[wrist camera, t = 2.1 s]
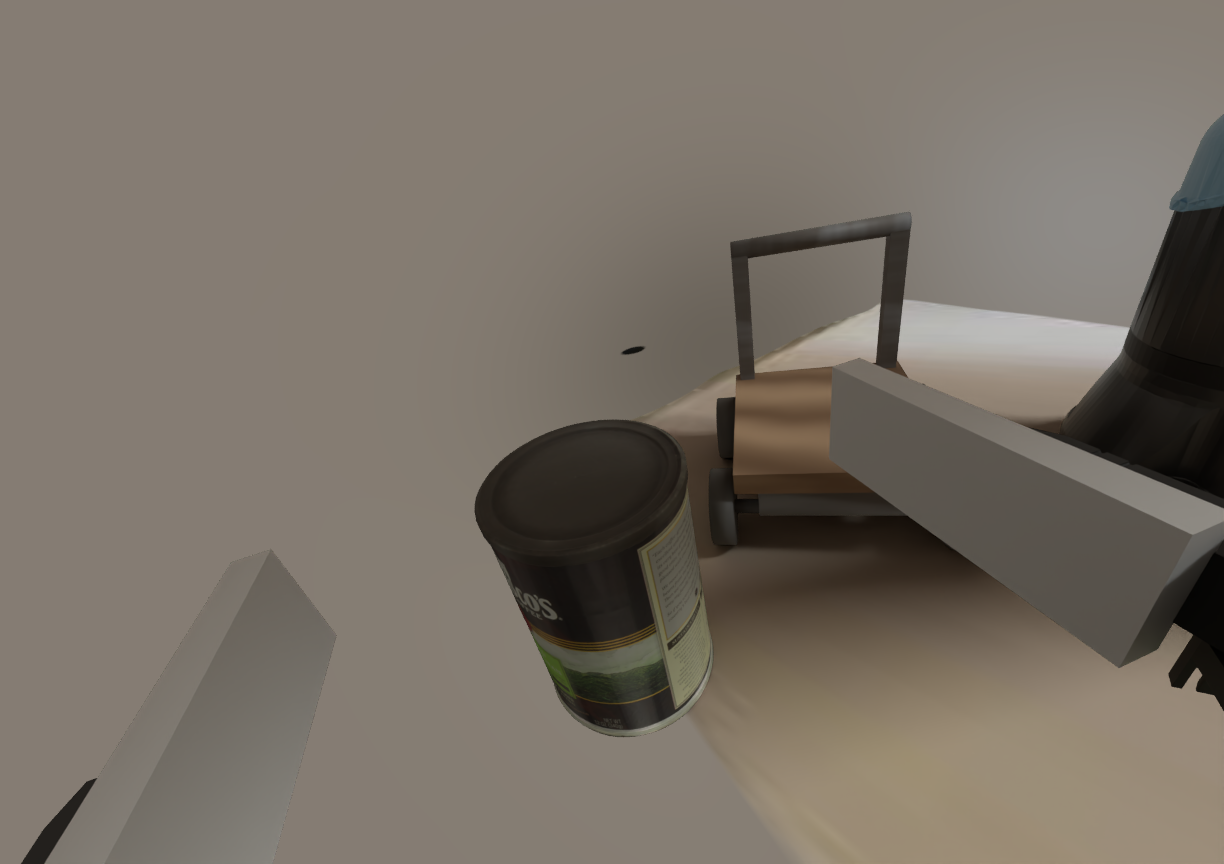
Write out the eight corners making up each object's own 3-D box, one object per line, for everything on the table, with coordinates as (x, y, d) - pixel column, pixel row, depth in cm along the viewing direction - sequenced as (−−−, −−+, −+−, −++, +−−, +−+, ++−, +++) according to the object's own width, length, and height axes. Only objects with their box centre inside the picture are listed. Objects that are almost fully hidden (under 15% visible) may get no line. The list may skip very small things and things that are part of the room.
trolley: (723, 436, 48) (703, 243, 39) (910, 427, 43) (939, 202, 34) (714, 560, 35) (680, 309, 25) (985, 569, 29) (1070, 259, 20)
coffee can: (598, 783, 24) (512, 597, 17) (530, 638, 32) (453, 472, 25) (753, 668, 27) (734, 473, 20) (655, 563, 36) (617, 399, 28)
